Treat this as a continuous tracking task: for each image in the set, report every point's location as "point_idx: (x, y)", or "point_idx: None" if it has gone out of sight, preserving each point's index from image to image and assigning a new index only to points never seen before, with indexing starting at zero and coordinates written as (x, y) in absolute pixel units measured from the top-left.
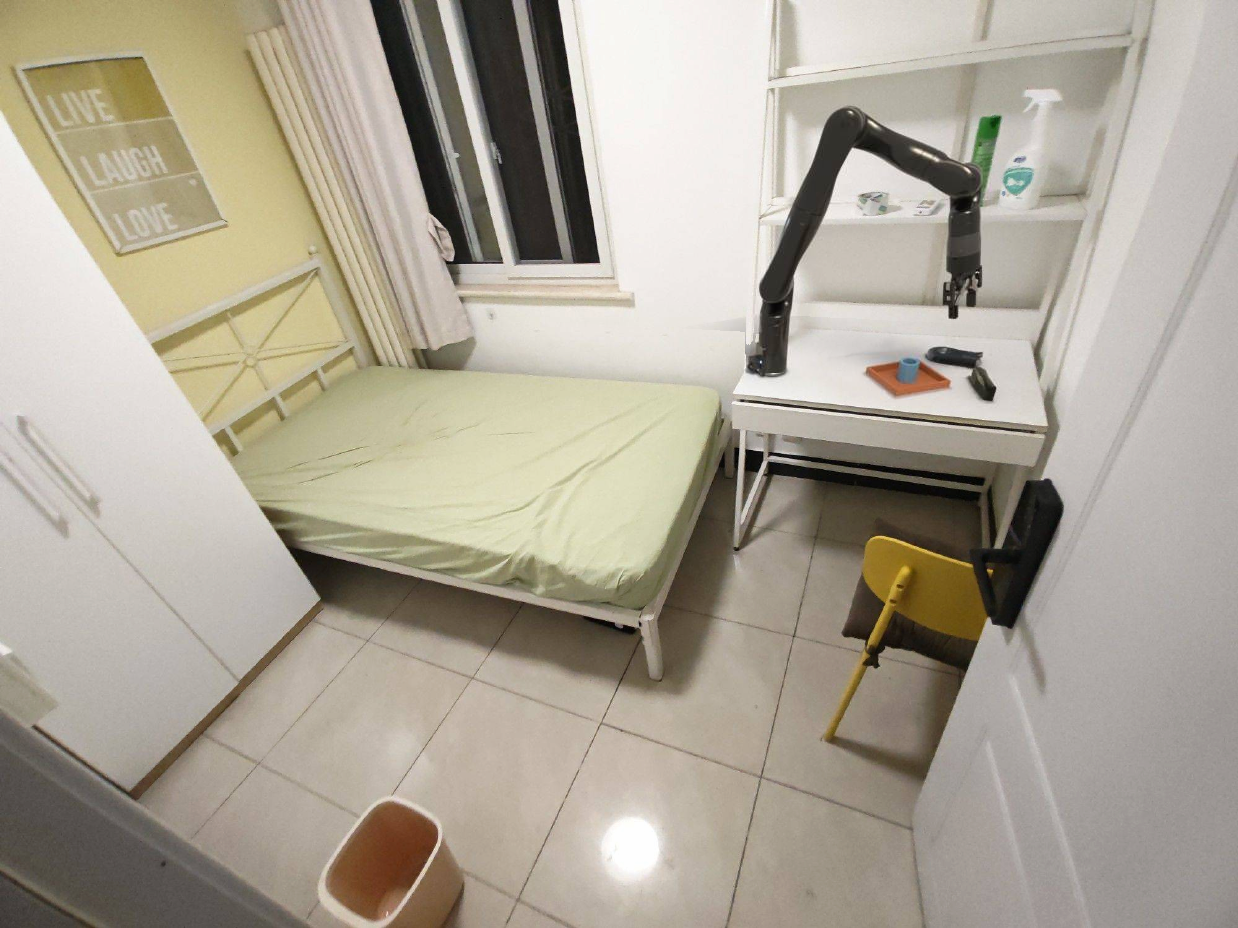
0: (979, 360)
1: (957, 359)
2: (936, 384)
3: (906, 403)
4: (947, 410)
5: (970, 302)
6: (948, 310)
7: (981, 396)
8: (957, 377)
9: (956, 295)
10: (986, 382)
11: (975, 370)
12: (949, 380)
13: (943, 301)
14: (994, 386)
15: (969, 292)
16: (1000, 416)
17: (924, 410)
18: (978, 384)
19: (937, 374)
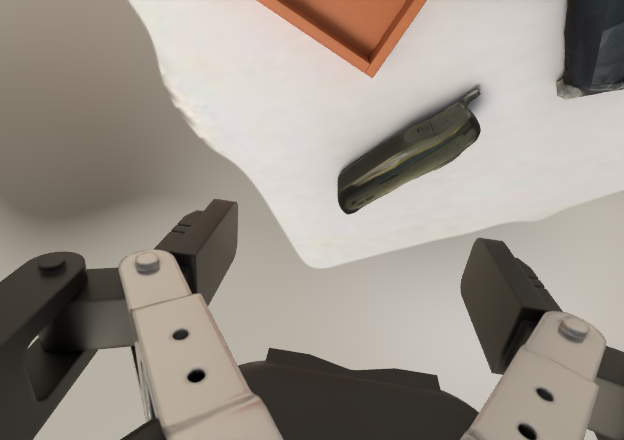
0: (580, 96)
1: (582, 17)
2: (325, 45)
3: (176, 2)
4: (229, 124)
5: (480, 283)
6: (164, 238)
7: (347, 169)
8: (468, 57)
9: (140, 390)
10: (362, 190)
11: (444, 134)
12: (370, 73)
13: (10, 286)
14: (352, 210)
15: (523, 337)
16: (287, 222)
17: (181, 74)
18: (380, 158)
19: (405, 11)
